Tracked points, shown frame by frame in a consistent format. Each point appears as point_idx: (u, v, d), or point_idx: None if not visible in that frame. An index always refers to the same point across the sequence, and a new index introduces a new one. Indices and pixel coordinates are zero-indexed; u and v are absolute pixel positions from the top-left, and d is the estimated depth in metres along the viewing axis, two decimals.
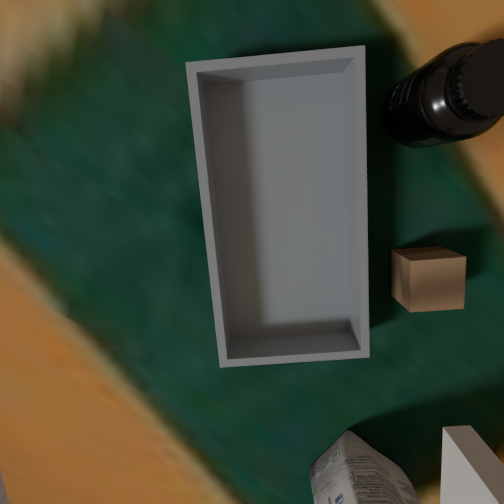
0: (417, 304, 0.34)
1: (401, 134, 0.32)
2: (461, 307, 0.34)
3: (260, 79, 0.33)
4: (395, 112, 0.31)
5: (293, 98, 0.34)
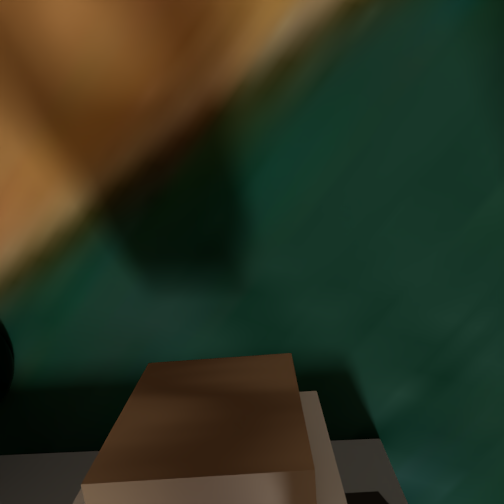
0: None
1: None
2: (310, 477, 0.08)
3: None
4: None
5: None
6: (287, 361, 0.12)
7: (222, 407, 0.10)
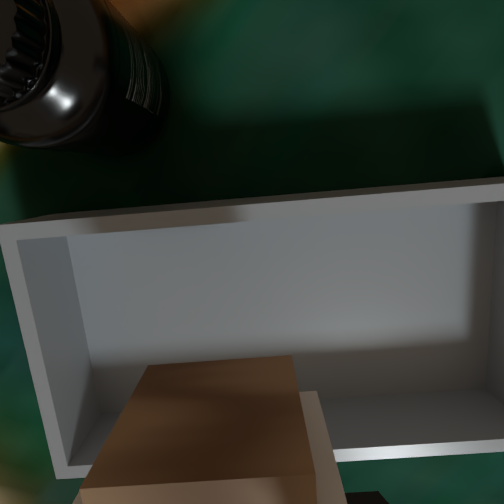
0: None
1: (141, 135, 0.18)
2: (310, 482, 0.08)
3: (85, 344, 0.23)
4: (104, 152, 0.18)
5: (108, 297, 0.23)
6: (287, 363, 0.12)
7: (222, 409, 0.10)
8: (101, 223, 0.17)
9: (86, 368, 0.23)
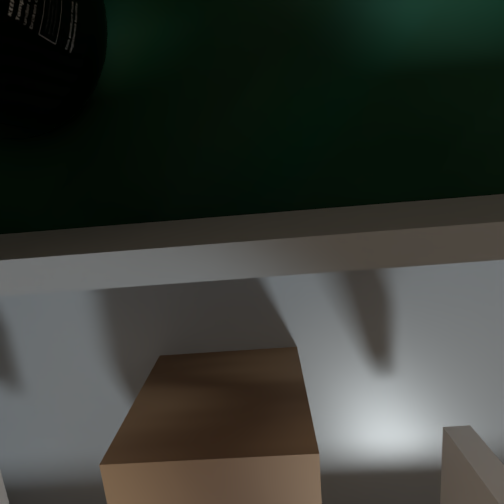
0: None
1: (34, 91, 0.09)
2: (314, 461, 0.08)
3: None
4: None
5: (15, 380, 0.13)
6: (293, 354, 0.12)
7: (231, 395, 0.10)
8: None
9: None
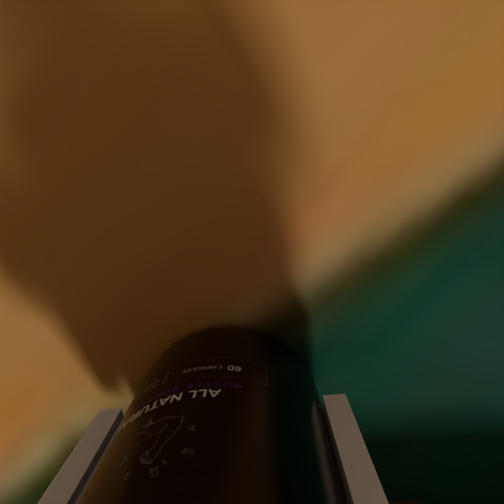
0: None
1: None
2: None
3: None
4: None
5: None
6: None
7: None
8: None
9: None
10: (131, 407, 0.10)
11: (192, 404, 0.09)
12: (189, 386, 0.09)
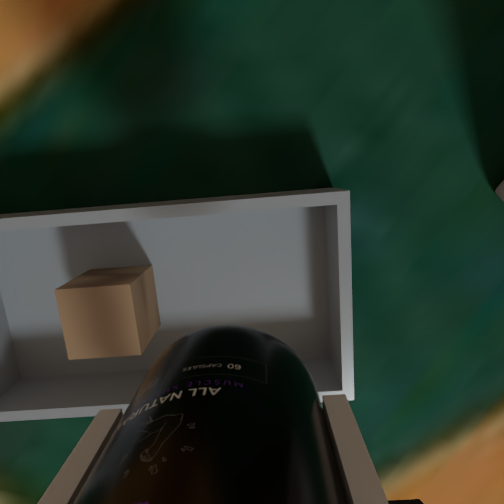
0: (129, 346, 0.24)
1: None
2: (129, 287, 0.23)
3: (5, 320, 0.29)
4: None
5: (21, 282, 0.28)
6: (147, 266, 0.27)
7: (111, 276, 0.25)
8: None
9: (5, 340, 0.29)
10: (131, 405, 0.10)
11: (192, 402, 0.09)
12: (189, 384, 0.09)
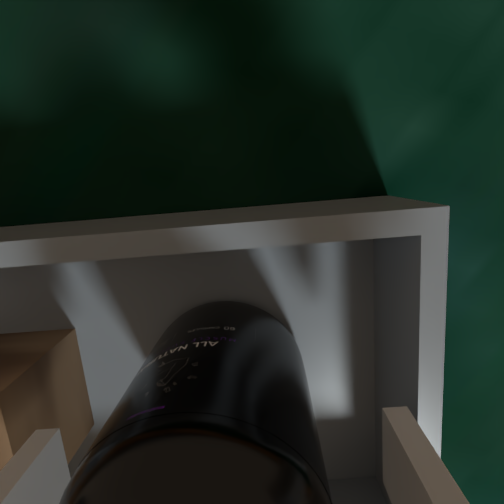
0: None
1: None
2: None
3: None
4: None
5: None
6: (64, 333, 0.16)
7: None
8: None
9: None
10: (146, 360, 0.13)
11: (195, 350, 0.11)
12: (193, 340, 0.12)
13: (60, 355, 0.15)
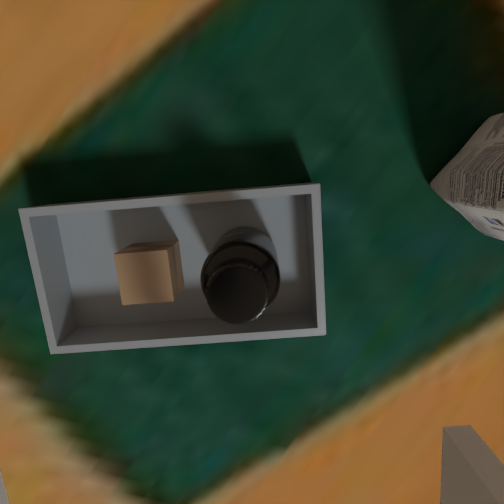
0: (165, 295, 0.34)
1: None
2: (166, 252, 0.33)
3: (68, 282, 0.39)
4: None
5: (81, 253, 0.38)
6: (175, 241, 0.37)
7: (151, 246, 0.35)
8: (73, 208, 0.33)
9: (69, 296, 0.39)
10: (216, 242, 0.34)
11: (236, 233, 0.33)
12: (234, 233, 0.33)
13: (176, 248, 0.36)
